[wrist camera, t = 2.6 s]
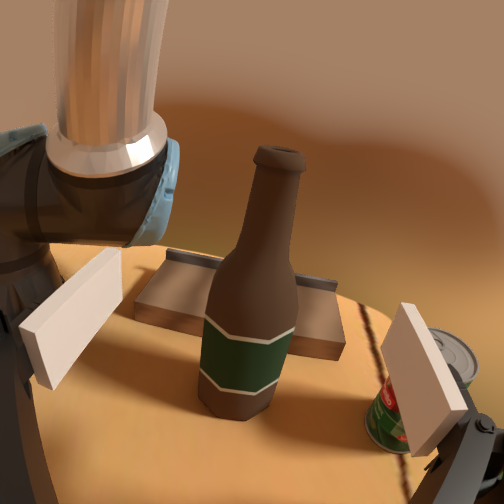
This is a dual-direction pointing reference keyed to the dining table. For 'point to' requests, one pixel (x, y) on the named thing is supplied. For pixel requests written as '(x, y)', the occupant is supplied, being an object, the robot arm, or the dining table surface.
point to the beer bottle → (253, 296)
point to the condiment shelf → (196, 295)
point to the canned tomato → (385, 404)
